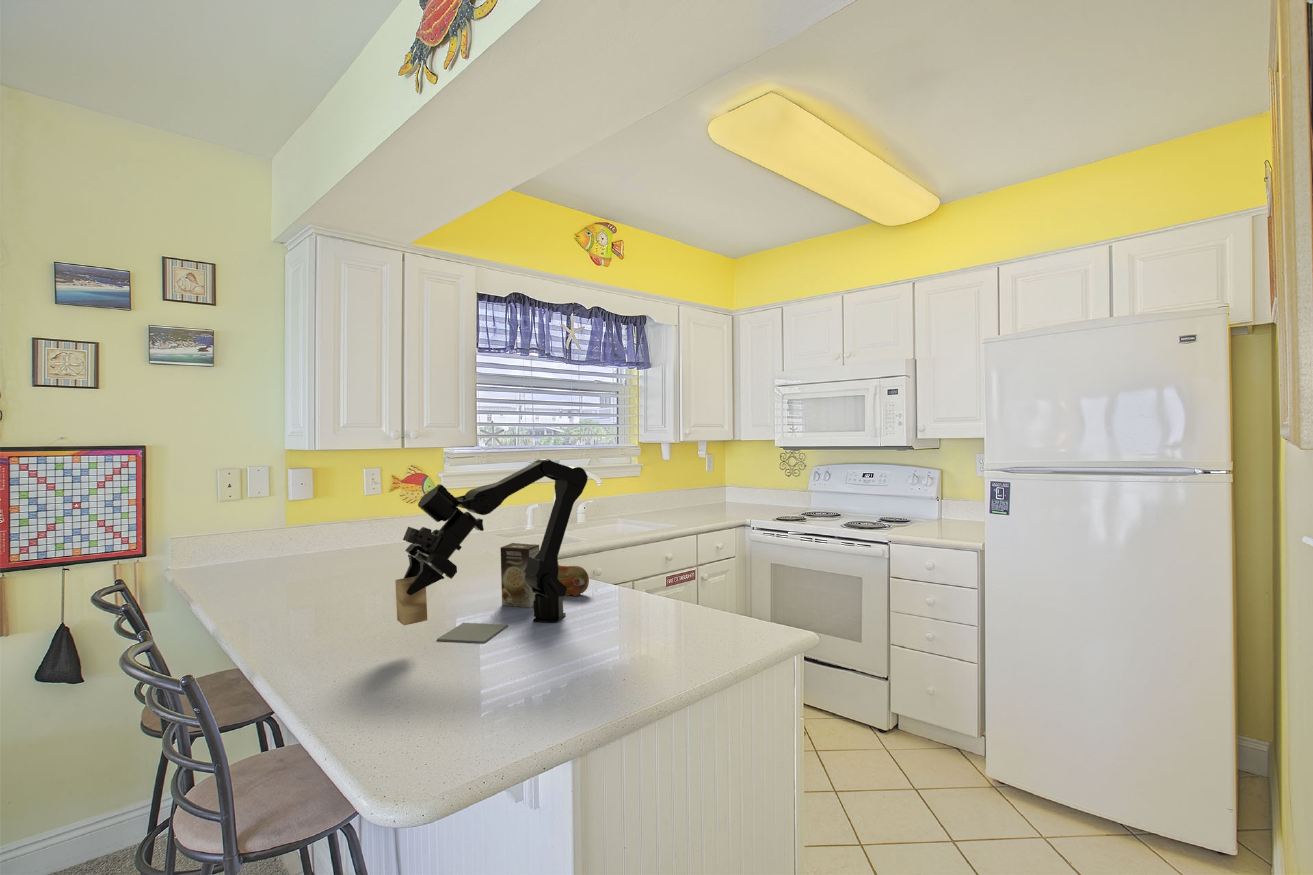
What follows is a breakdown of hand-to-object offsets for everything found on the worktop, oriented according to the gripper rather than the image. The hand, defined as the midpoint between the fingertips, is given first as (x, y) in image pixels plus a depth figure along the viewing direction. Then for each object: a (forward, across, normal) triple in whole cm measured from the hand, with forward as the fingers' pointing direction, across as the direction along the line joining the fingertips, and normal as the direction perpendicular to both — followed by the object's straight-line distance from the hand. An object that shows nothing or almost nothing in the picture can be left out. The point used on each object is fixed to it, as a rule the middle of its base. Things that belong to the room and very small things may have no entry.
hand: (404, 591), depth 140 cm
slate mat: (-2, -2, +21) cm, 21 cm away
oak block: (+4, 0, +6) cm, 7 cm away
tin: (-25, -18, +45) cm, 54 cm away
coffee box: (-16, -18, +35) cm, 42 cm away
